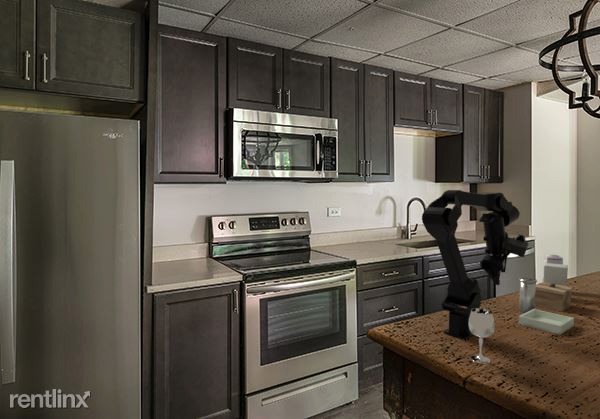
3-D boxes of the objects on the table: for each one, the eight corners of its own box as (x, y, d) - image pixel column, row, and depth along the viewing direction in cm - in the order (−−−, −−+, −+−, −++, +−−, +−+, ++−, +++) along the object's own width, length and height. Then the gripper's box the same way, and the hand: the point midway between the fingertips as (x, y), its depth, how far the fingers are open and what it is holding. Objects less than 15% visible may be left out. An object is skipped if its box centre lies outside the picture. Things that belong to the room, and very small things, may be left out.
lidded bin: (562, 312, 131) (563, 289, 131) (531, 305, 139) (531, 283, 139) (572, 306, 138) (573, 284, 137) (541, 300, 145) (542, 279, 145)
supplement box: (565, 302, 143) (567, 267, 142) (542, 298, 147) (543, 265, 147) (567, 297, 149) (568, 264, 148) (544, 294, 153) (545, 262, 153)
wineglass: (463, 359, 95) (464, 311, 95) (473, 352, 100) (474, 306, 99) (488, 367, 91) (489, 316, 91) (497, 359, 95) (498, 311, 95)
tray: (560, 334, 111) (560, 326, 111) (518, 324, 120) (518, 316, 120) (573, 325, 118) (574, 317, 118) (533, 316, 127) (533, 308, 127)
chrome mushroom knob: (532, 315, 128) (533, 282, 128) (515, 311, 133) (516, 279, 132) (538, 311, 132) (539, 279, 131) (521, 308, 136) (522, 276, 135)
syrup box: (562, 293, 154) (564, 257, 153) (545, 292, 156) (546, 256, 155) (559, 290, 159) (560, 254, 158) (542, 288, 161) (543, 254, 160)
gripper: (519, 243, 108) (525, 294, 111) (528, 221, 122) (533, 267, 125) (476, 242, 115) (483, 291, 118) (490, 222, 129) (496, 265, 132)
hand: (500, 278), depth 123 cm, fingers open, 9 cm apart
